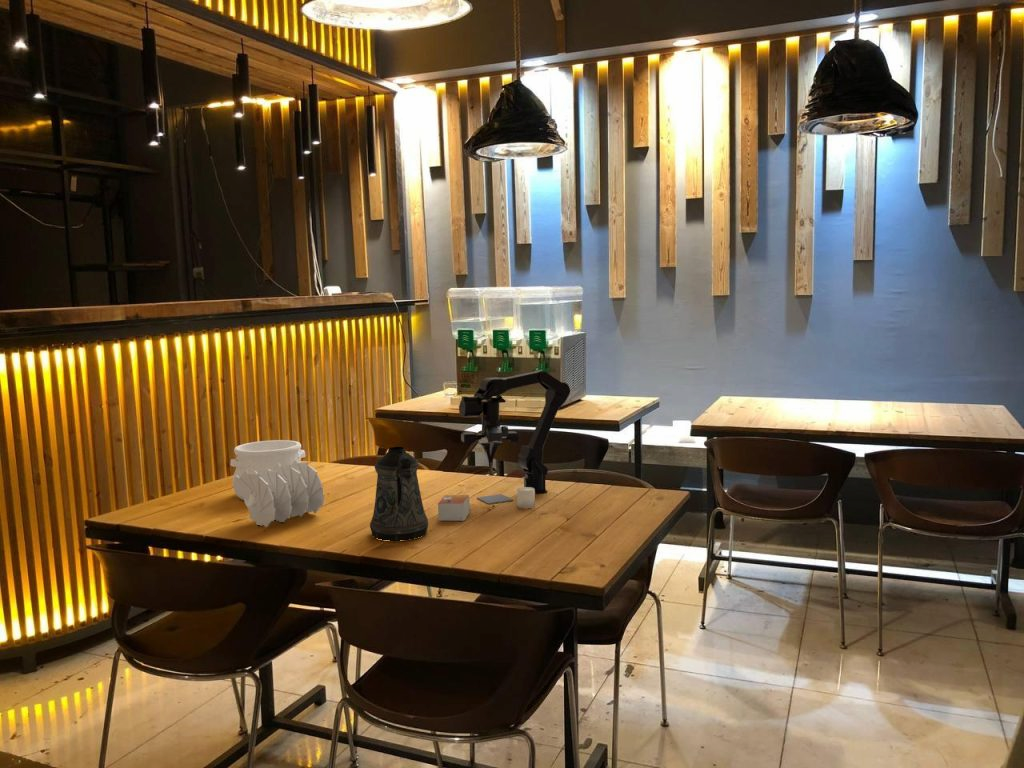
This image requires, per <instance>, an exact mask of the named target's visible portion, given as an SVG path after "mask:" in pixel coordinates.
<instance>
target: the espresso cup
mask: <svg viewBox="0 0 1024 768" xmlns="http://www.w3.org/2000/svg"><path fill="white" fill-rule="evenodd" d="M535 496H536V493H535V489H534V488H532V487H524V486H523V487H518V488H517V489H516V499H517V500H516V501H517V502H516V503H517V506H516V507H517V508H518V507H519V508H518V509H522V508H524V509H525V508H529V509H534V508H535V507H536V498H535ZM533 507H534V508H533ZM524 509H523V510H524Z"/></svg>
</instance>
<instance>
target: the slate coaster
mask: <svg viewBox="0 0 1024 768" xmlns="http://www.w3.org/2000/svg"><path fill="white" fill-rule="evenodd" d="M476 499H477V500H479V501H481V502H482V501H483V503H484V502H485V504H486V503H487V504H486V505H488V504H489V505H494V504H493V503H496V504H501V503H500V502H502V503H506V502H507V503H509V502H513V501H514V499H513V498H511V497H509V496H506V495H505V494H502V493H500V494H492V495H487V496H479V497H478V496H477V497H476ZM508 501H509V502H508Z"/></svg>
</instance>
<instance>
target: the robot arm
mask: <svg viewBox="0 0 1024 768" xmlns="http://www.w3.org/2000/svg"><path fill="white" fill-rule="evenodd" d="M535 384H538V385H540V386H541V387H542V388H543V389H544V390H545V395H544V397H545V398H544V399H545V400H544V402H545V403H544V407H543V409H542V411H541V414H540V417H539V419H538V422H537V424H536V426H535V429H534V432H533V434H532V436H531V439H530V441H529V443H527V445H521V447H520V452H519V453H518V454H517V457H518V459H517V462H518V464H519V466H520V468H522V470H523V472H524V474H525V475H524V476H525V477H523V487H532V488H534V489H535V494H543V493H547V492H548V490H547V489H546V487H547V486H546V476H547V475H548V472H549V468H548V467H547V466H546V465H544V463H543V458H544V446H545V443H546V441H547V439H548V436H549V433H550V431H551V428H552V426H553V423H554V420H555V418H556V417H557V413H558V410H560V408H561V407H562V406H563V405H564V404H565V403H566V401H567V399H568V398H569V396H570V394H571V388H570V386H569V384H568V383H566V382H563V381H560V380H559V379H557V378H556V377H554V376H552V375H550V374H549V373H548V372H547V371H546V370H541V369H537V370H535V371H531V372H526V373H522V374H521V373H520V374H516V375H511V376H507V377H486V378H483V379H482V380H481V382H480V384H479V385H480V386H479V387H478V390H477V391H476V392H475V393H474V395H473V396H467V395H465V396H461V400H460V401H459V405H458V413H459V416H460V417H461V418H475V417H480V415H481V434H479V433H478V434H476V433H475V432H474V431H467V432H466V431H464V432H462V433H461V434H460V440H461V442H462V443H465V444H473V443H475V442H476V441H477V443H478V444H479V445H481V446H482V448H483V451H484V453H485V457H486V459H487V462H488V464H492V462H493V459H494V456H495V454H496V452H497V449H498V448H499V447H500V446H501V445H503V442H502V441H503V440H508V441H509V442H510V443H518V442H520V434H519V433H518V432H516V431H515V430H513V431H512V430H511V431H510V430H509V426H508V425H502V426H501V422H500V421H501V420H500V403H506V402H507V401H506V399H505V398H504V397H503V396H502V394H504V393H507V392H508V391H509V390H512V389H517V388H521V387H526V386H530V385H535Z"/></svg>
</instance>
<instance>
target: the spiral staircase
mask: <svg viewBox="0 0 1024 768" xmlns="http://www.w3.org/2000/svg"><path fill="white" fill-rule="evenodd" d="M323 486H324V484H323V482H322V480H321V478H320V476H319V474H318V470H316V469H315V468H314V467H312V466H311V465H309V464H308V462H307V461H306V462H303V461H301V463H298V461H297V460H295V461H294V462H293V463H292V464H291V465H284V466H281V465H280V463H278V464H277V465H276V466H275V468H274V469H273V470H272V471H271V470H270V469H269V470H267V468H266V467H265V468H263V469H262V470H261V471H259V472H258V473H257V472H256V471H254V473H253V474H251V473H250V474H249V473H248V471H245V472H244V473H243V474H242V475H241V476H240V477H238V476H236V477H235V480H234V483H233V482H232V488H233V490H234V489H235V490H236V491H237V492H238V493H239V494H240V495H241V496H242V497H243V498H244V500H243V501H244V504H245V507H247V510H248V511H249V519H251V520H252V521H254V522H255V525H256V526H257V525H260V526H259V527H261V526H264V528H266V527H267V528H268V527H269V526H270V524H272V522H279V523H280V522H284V523H285V522H286V521H287V519H290V518H291V517H292V516H295V517H297V516H299V517H300V518H302V517H303V515H304V513H306V512H308V513H311V512H312V513H314V515H315V514H317V512H319V510H320V508H322V507H324V500H325V495H326V494H324V489H323V488H324V487H323ZM274 520H276V521H274Z"/></svg>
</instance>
